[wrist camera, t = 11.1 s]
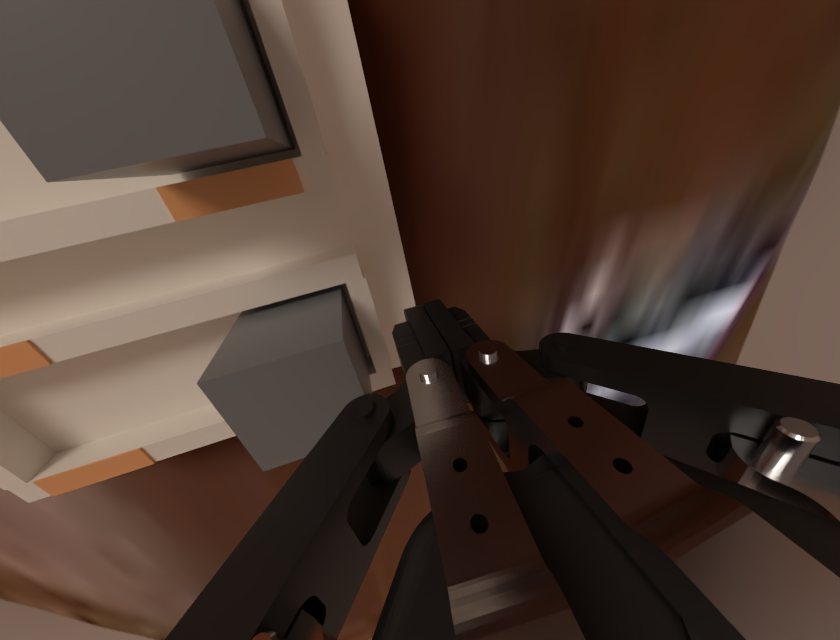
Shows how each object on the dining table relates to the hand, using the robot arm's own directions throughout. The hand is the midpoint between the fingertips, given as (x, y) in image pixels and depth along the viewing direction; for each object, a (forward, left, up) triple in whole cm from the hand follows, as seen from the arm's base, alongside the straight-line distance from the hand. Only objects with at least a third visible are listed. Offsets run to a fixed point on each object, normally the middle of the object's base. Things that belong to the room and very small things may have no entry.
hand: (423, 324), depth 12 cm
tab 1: (-9, -5, -2) cm, 10 cm away
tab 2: (0, -5, -2) cm, 5 cm away
